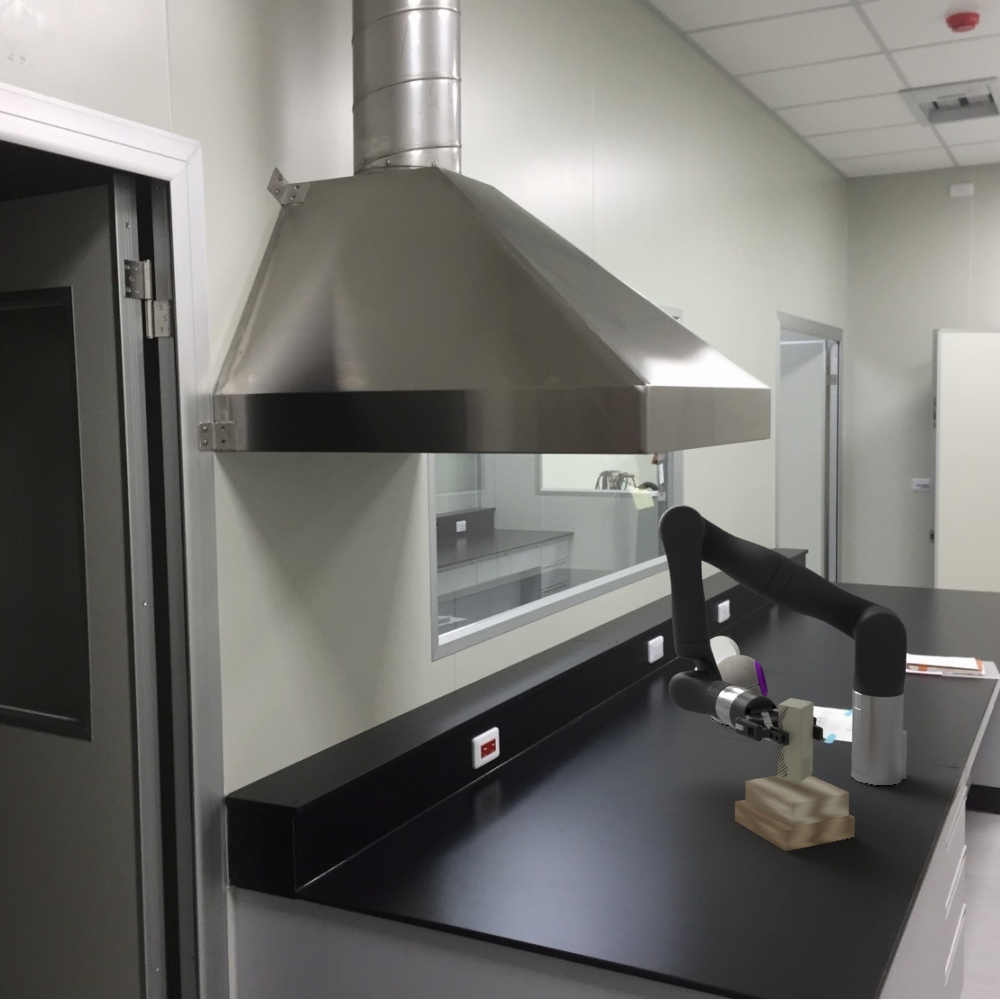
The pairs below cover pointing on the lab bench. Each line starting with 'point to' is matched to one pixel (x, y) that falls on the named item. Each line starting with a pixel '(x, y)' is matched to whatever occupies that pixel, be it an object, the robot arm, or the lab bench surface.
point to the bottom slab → (793, 836)
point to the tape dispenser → (723, 648)
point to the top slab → (797, 800)
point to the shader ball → (743, 674)
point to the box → (796, 739)
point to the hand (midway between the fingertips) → (804, 737)
